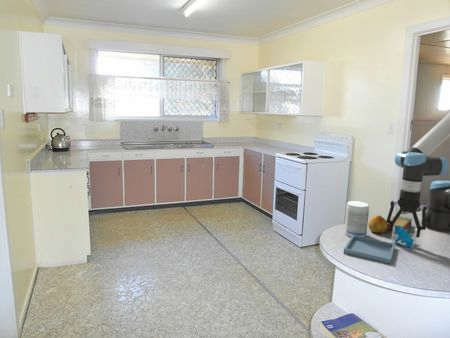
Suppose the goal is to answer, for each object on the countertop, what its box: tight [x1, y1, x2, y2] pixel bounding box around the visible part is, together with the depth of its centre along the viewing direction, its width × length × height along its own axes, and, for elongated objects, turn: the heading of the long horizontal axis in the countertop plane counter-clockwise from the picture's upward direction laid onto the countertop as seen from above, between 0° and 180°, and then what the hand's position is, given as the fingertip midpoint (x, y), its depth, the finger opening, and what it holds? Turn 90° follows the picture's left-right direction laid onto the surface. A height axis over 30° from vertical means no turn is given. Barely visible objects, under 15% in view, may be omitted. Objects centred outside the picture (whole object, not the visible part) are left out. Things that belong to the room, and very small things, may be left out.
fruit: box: [367, 215, 387, 234], centre depth 166 cm, size 8×8×8 cm
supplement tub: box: [344, 200, 370, 238], centre depth 160 cm, size 10×10×15 cm
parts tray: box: [343, 235, 396, 265], centre depth 145 cm, size 17×17×2 cm
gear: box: [393, 225, 414, 249], centre depth 152 cm, size 11×6×10 cm
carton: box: [384, 215, 413, 233], centre depth 171 cm, size 8×16×4 cm, turn 141°
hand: (403, 241), depth 152 cm, fingers closed on gear, 8 cm apart
